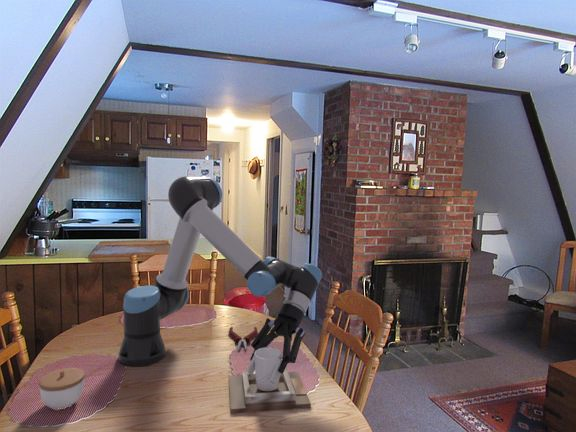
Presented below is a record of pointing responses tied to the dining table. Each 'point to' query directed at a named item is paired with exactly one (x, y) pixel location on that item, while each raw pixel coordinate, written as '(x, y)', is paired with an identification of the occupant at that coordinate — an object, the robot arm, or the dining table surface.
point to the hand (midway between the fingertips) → (260, 377)
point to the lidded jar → (61, 387)
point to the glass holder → (267, 394)
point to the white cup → (266, 367)
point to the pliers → (245, 340)
